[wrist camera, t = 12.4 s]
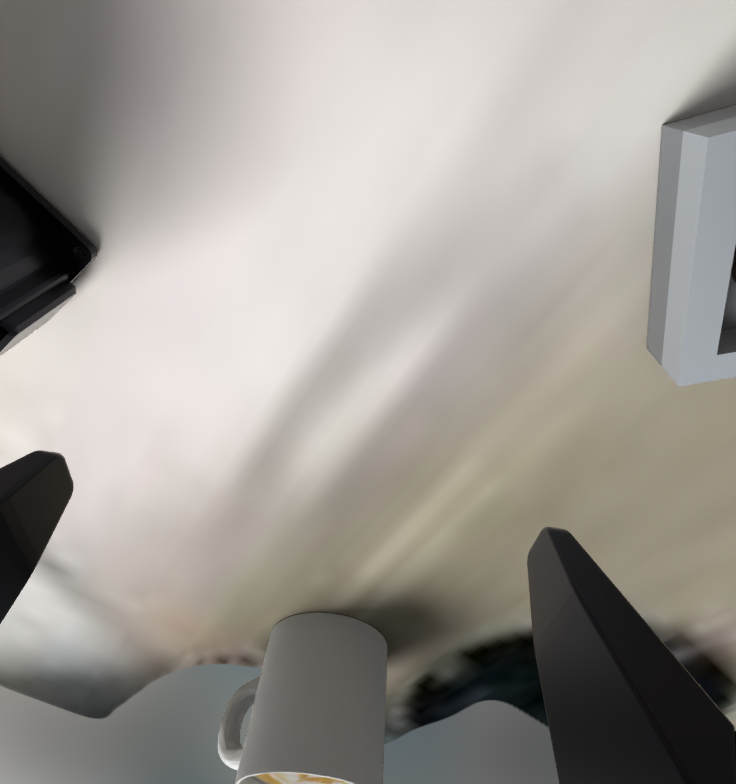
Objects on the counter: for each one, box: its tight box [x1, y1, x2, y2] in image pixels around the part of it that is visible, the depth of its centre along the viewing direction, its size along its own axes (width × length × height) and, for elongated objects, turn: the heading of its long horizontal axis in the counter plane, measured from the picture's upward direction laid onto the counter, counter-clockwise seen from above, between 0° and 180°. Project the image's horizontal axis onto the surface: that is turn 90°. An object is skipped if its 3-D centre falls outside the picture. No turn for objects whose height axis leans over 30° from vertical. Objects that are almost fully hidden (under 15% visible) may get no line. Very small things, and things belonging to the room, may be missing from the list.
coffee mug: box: [218, 612, 388, 784], centre depth 35 cm, size 13×10×10 cm
